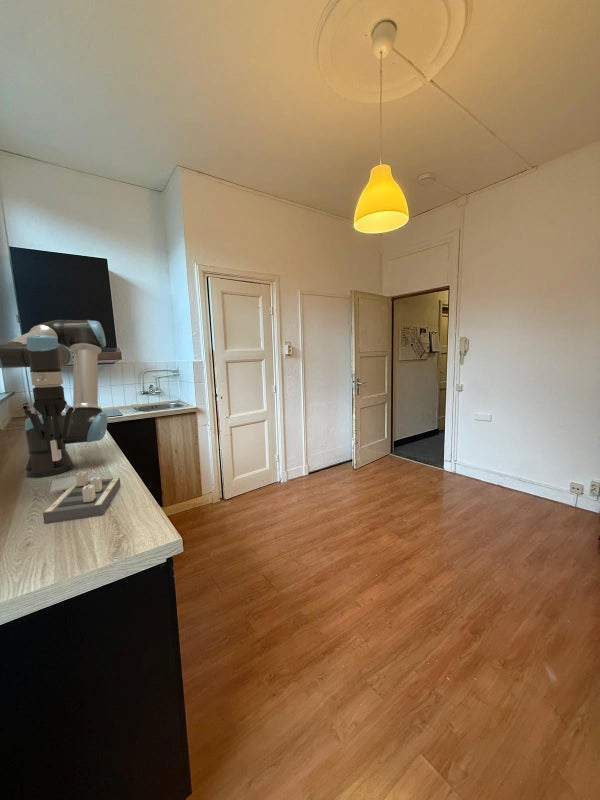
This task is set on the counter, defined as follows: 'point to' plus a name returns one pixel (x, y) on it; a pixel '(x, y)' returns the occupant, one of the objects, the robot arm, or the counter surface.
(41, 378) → the robot arm
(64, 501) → the switch panel
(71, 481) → the hard drive
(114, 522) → the counter surface
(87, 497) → the tab
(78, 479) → the tab
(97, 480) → the tab
